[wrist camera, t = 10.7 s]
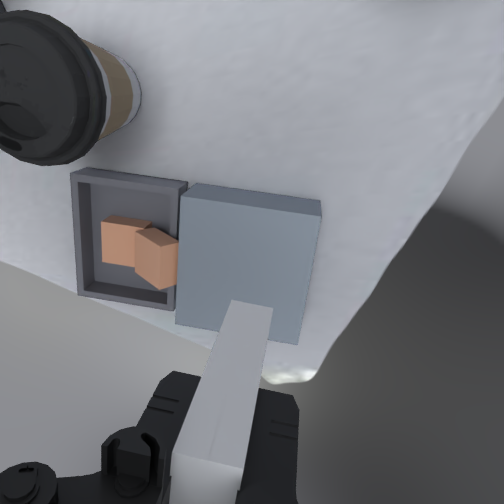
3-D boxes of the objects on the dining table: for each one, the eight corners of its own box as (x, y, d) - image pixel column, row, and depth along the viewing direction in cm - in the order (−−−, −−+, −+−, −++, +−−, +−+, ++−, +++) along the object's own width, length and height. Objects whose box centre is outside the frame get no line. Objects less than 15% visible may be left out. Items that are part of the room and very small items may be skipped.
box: (92, 282, 53) (77, 295, 49) (86, 167, 47) (70, 173, 44) (181, 297, 52) (173, 311, 48) (187, 181, 46) (178, 188, 43)
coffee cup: (51, 123, 45) (-62, 138, 32) (69, 13, 41) (-54, -25, 27) (146, 161, 46) (75, 193, 32) (174, 56, 41) (105, 41, 27)
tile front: (153, 266, 48) (134, 271, 46) (154, 227, 46) (134, 231, 44) (178, 283, 45) (159, 289, 43) (180, 242, 43) (160, 246, 41)
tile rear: (143, 268, 47) (151, 260, 49) (144, 228, 45) (152, 221, 47) (102, 261, 47) (111, 253, 50) (101, 221, 45) (111, 214, 48)
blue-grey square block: (189, 298, 52) (175, 324, 46) (196, 183, 46) (180, 196, 40) (299, 317, 50) (297, 345, 45) (320, 200, 45) (321, 216, 39)
